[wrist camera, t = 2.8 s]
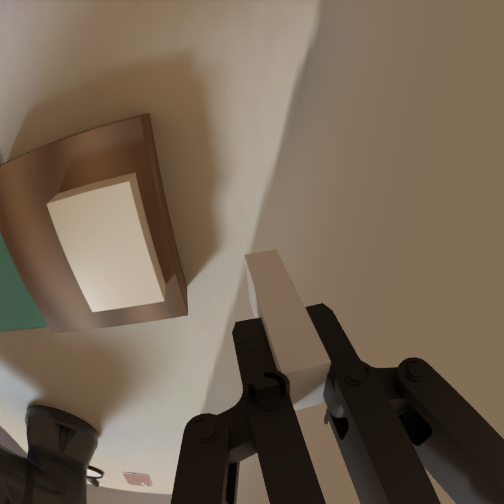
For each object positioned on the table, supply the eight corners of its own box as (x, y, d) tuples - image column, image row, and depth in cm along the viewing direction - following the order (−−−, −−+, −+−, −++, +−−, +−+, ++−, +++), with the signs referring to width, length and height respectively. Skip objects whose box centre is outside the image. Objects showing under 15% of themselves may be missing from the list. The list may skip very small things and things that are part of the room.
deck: (63, 306, 25) (53, 333, 22) (6, 162, 17) (-19, 176, 14) (187, 286, 27) (187, 315, 24) (149, 113, 19) (140, 116, 15)
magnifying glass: (79, 478, 59) (78, 483, 57) (56, 455, 48) (55, 461, 46) (113, 484, 62) (113, 489, 60) (97, 464, 52) (97, 470, 50)
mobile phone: (148, 476, 55) (152, 487, 62) (147, 473, 56) (152, 484, 63) (120, 473, 53) (128, 484, 60) (120, 470, 54) (128, 482, 61)
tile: (97, 296, 21) (92, 312, 19) (58, 193, 16) (46, 204, 15) (165, 284, 22) (164, 301, 20) (135, 172, 17) (129, 181, 15)
